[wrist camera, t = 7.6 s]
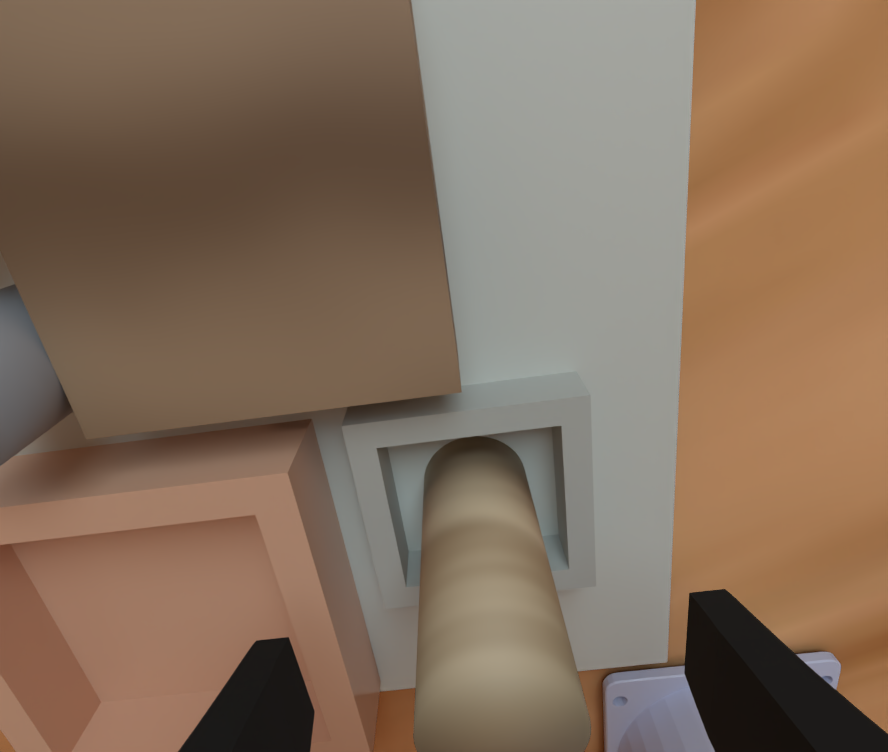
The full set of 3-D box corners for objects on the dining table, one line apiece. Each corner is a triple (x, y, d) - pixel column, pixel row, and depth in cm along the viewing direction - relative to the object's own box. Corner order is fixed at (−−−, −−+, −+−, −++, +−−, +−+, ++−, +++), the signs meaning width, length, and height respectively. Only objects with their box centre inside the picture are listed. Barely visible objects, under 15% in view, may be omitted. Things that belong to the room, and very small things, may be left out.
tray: (380, 681, 18) (372, 759, 16) (92, 710, 19) (44, 791, 16) (311, 418, 14) (287, 472, 12) (-53, 464, 15) (-144, 525, 12)
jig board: (658, 641, 19) (726, 796, 14) (97, 699, 20) (-2, 862, 15) (684, -149, 10) (868, -362, 6) (-298, 15, 11) (-772, -63, 7)
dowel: (528, 515, 15) (593, 781, 9) (431, 526, 16) (427, 796, 9) (521, 430, 14) (588, 664, 8) (416, 442, 14) (399, 683, 8)
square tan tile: (457, 349, 13) (462, 392, 11) (145, 389, 14) (86, 439, 12) (405, -45, 10) (395, -97, 8) (0, 21, 11) (-120, -11, 8)
